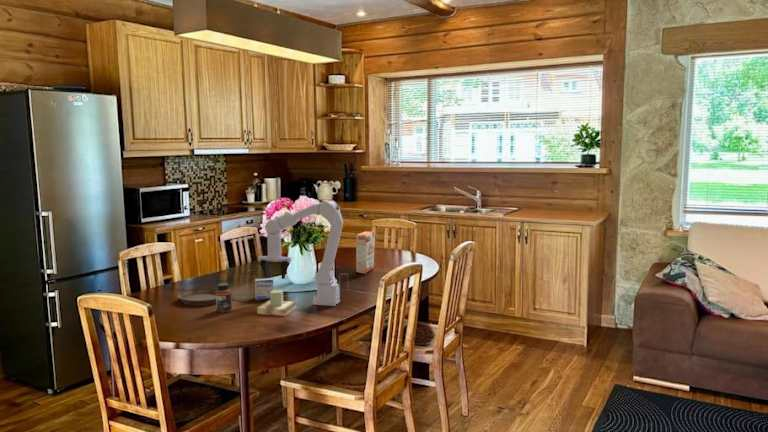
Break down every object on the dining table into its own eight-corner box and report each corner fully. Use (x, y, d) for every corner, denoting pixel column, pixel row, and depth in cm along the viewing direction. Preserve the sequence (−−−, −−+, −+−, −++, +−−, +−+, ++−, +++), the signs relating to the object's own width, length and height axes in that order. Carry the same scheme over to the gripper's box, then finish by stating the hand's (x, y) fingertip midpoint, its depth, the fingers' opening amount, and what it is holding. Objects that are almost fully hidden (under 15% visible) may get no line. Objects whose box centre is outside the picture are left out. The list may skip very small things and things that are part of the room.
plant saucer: (237, 298, 258) (236, 291, 258) (200, 310, 241) (200, 302, 240) (204, 292, 269) (204, 285, 268) (167, 302, 251) (167, 295, 251)
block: (283, 302, 241) (283, 290, 241) (281, 305, 237) (281, 292, 236) (272, 303, 241) (272, 290, 240) (270, 306, 237) (270, 292, 236)
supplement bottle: (225, 308, 243) (225, 281, 241) (234, 310, 239) (233, 283, 238) (213, 311, 238) (212, 284, 237) (222, 314, 234) (221, 286, 233)
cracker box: (366, 274, 303) (366, 235, 301) (355, 274, 305) (355, 234, 302) (374, 269, 317) (374, 231, 314) (364, 268, 318) (364, 230, 316)
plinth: (296, 307, 244) (295, 301, 243) (285, 315, 232) (285, 309, 232) (269, 305, 246) (269, 299, 246) (257, 313, 235) (257, 307, 234)
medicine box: (255, 300, 255) (255, 280, 254) (255, 297, 259) (254, 278, 258) (273, 298, 257) (273, 279, 256) (273, 296, 261) (272, 277, 260)
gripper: (293, 246, 252) (294, 276, 254) (262, 244, 255) (263, 275, 257) (287, 249, 245) (288, 280, 247) (255, 247, 248) (256, 278, 250)
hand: (275, 278), depth 252 cm, fingers open, 7 cm apart
